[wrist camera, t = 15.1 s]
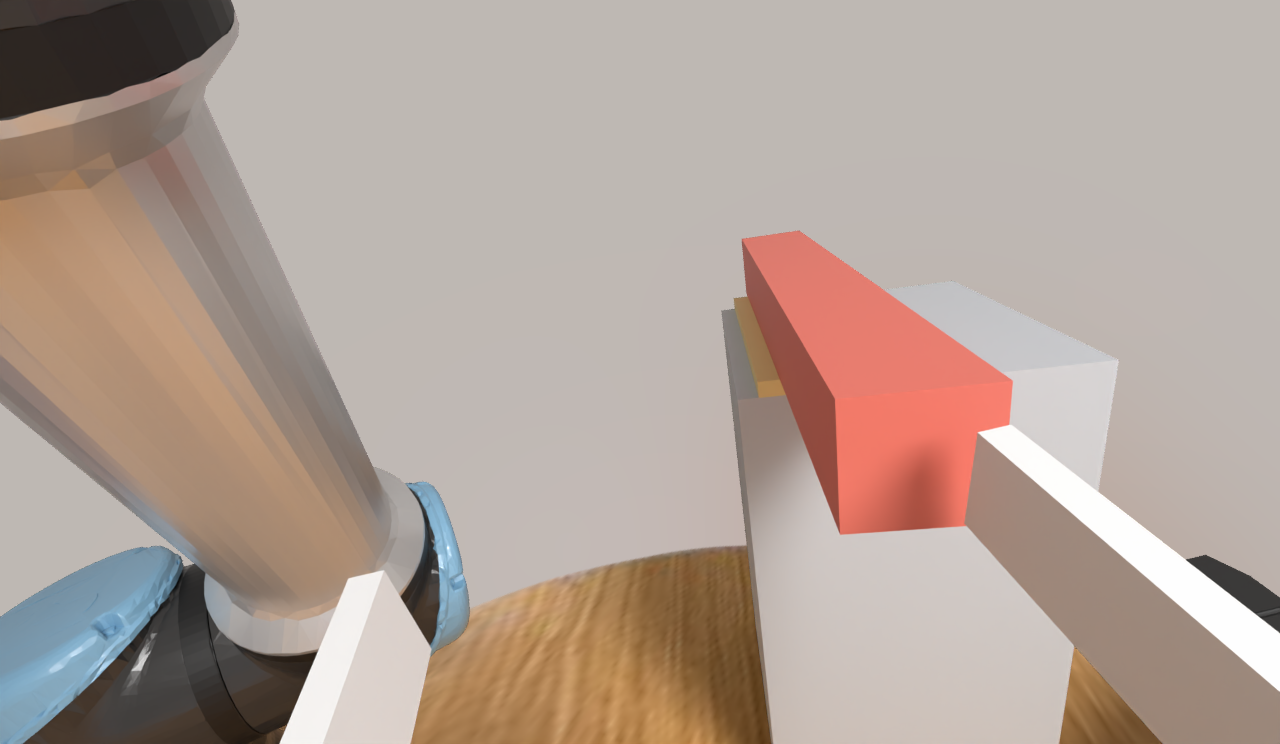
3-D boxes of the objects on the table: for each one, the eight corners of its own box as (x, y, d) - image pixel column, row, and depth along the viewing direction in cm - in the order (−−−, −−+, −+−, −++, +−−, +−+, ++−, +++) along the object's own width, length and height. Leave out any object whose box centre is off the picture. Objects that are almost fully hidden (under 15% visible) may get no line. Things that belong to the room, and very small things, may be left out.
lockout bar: (1001, 523, 14) (1012, 380, 13) (839, 534, 15) (835, 399, 13) (802, 286, 40) (799, 230, 39) (746, 293, 41) (741, 238, 39)
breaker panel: (1047, 817, 34) (1118, 360, 23) (780, 817, 36) (737, 400, 26) (933, 605, 50) (946, 277, 39) (754, 614, 52) (720, 306, 42)
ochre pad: (895, 383, 25) (895, 367, 24) (758, 398, 25) (757, 382, 25) (819, 298, 39) (818, 287, 39) (734, 309, 40) (733, 298, 40)
